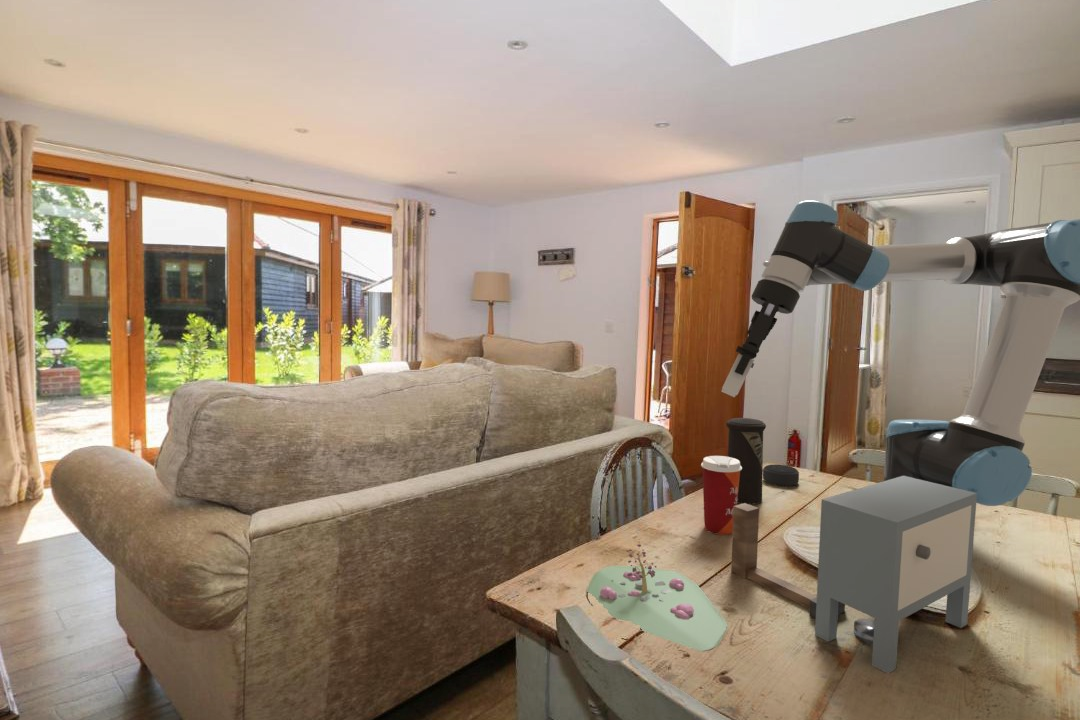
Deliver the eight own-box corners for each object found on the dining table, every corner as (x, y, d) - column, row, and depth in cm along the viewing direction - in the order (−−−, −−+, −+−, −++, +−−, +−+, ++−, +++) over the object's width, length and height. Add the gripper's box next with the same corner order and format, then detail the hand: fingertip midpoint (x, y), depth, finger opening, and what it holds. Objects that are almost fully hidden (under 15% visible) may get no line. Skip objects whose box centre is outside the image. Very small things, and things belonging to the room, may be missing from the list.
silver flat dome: (865, 624, 84) (866, 614, 84) (901, 641, 80) (902, 631, 79) (846, 634, 81) (846, 624, 81) (882, 652, 77) (882, 642, 77)
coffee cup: (742, 538, 114) (745, 466, 113) (700, 535, 116) (702, 464, 115) (736, 523, 123) (739, 455, 121) (697, 520, 124) (699, 453, 123)
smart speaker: (764, 486, 149) (765, 471, 148) (761, 476, 157) (761, 462, 157) (801, 489, 146) (801, 474, 146) (795, 479, 155) (796, 465, 155)
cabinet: (895, 594, 92) (903, 475, 90) (975, 627, 83) (985, 495, 81) (814, 634, 81) (821, 499, 79) (896, 678, 71) (905, 525, 69)
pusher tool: (725, 573, 99) (727, 507, 98) (747, 565, 102) (750, 501, 101) (821, 622, 84) (825, 544, 83) (844, 611, 87) (848, 536, 86)
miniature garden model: (768, 620, 85) (770, 563, 84) (678, 672, 73) (680, 606, 72) (646, 561, 105) (647, 514, 105) (559, 593, 93) (560, 541, 92)
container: (758, 507, 132) (762, 424, 130) (720, 500, 137) (722, 419, 135) (765, 497, 139) (769, 418, 138) (728, 491, 144) (731, 414, 142)
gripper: (755, 292, 114) (709, 387, 115) (765, 260, 90) (708, 380, 91) (792, 306, 111) (745, 403, 112) (812, 278, 88) (753, 400, 89)
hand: (728, 393), depth 102 cm, fingers open, 13 cm apart
